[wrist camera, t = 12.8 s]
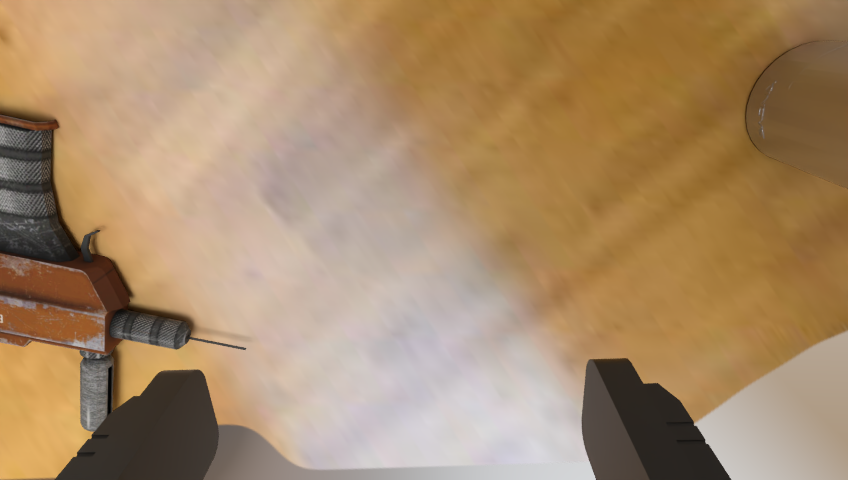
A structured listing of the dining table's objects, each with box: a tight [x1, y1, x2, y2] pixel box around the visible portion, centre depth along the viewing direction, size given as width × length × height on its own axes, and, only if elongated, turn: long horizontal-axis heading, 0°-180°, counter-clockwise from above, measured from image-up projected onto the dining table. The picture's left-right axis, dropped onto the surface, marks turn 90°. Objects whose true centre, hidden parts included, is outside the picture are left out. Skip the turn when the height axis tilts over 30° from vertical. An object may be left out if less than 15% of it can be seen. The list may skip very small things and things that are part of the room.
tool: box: [0, 114, 246, 431], centre depth 46 cm, size 4×27×30 cm
